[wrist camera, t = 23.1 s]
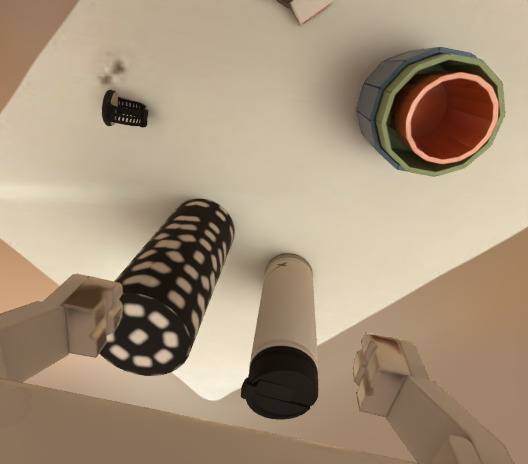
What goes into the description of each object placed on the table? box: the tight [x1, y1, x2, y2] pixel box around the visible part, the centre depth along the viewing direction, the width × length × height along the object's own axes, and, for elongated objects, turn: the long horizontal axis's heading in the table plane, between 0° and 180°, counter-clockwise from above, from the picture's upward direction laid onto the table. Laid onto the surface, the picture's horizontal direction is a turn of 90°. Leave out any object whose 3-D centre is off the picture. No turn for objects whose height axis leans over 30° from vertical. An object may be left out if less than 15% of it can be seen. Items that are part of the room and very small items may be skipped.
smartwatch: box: [102, 90, 148, 127], centre depth 38 cm, size 4×5×5 cm
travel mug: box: [241, 254, 318, 419], centre depth 38 cm, size 6×7×20 cm
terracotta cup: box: [386, 70, 499, 164], centre depth 31 cm, size 6×6×10 cm
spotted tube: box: [100, 199, 234, 376], centre depth 36 cm, size 8×8×20 cm
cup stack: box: [357, 47, 505, 177], centre depth 32 cm, size 10×10×10 cm
